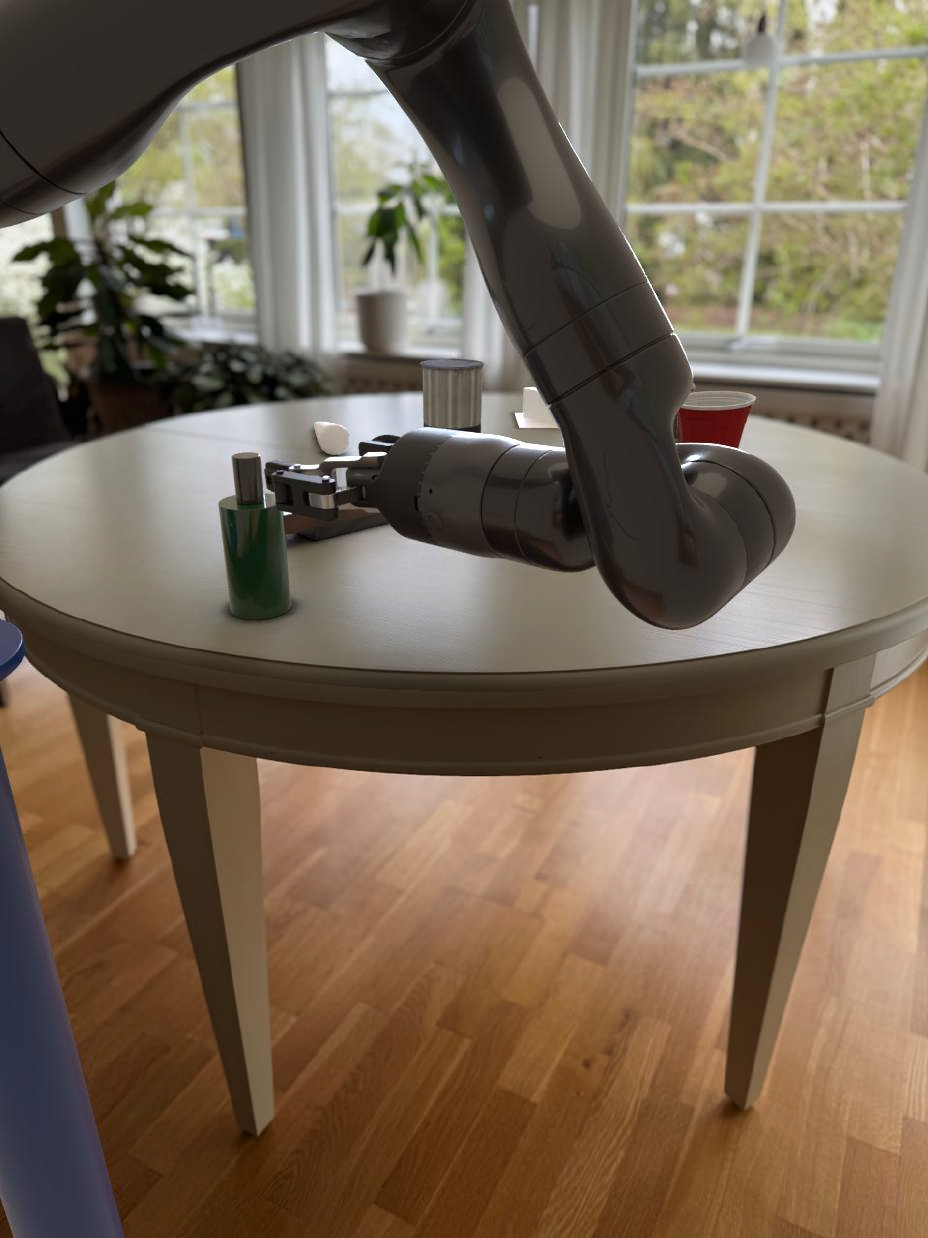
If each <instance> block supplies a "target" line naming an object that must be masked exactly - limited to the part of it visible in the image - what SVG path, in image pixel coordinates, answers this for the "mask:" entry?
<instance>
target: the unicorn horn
mask: <svg viewBox="0 0 928 1238" xmlns="http://www.w3.org/2000/svg"><path fill="white" fill-rule="evenodd" d="M313 427H314V432H315V435H316V439H317V442H318V445H319V447H320V449H321V450H322V451H323V452H324V453H326V454H327V455H331V456H340V455H342V454H345V453H346V451H347V450H348V449H349V446H350V443H351V437H350V433H349V430H348V429H347V428H346V427H344V425H341V424H337V423H333V422H328V421H315V422H314V423H313Z"/></svg>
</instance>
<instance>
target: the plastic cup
mask: <svg viewBox="0 0 928 1238" xmlns="http://www.w3.org/2000/svg"><path fill="white" fill-rule="evenodd" d="M756 399H757V396H755V395H753V394H752V393H747V392H742V391H732V390H706V391H694V393H690V395H689V396H688V398H687V400H686V401H685V402H684V404H683V405H682V407H681V408H680V409H679V411H678V412H677V416H678V421H679V432H680V444H684V443H706V444H716V445H723V446H728V447H733V448H736V449H740V448H739V447H740V444H741V440H742V437H743V433H744V430H745V427H746V424H747V421H748V418H749V416H750V413H751V409H752V407H753V405H754V404H755V403H756Z"/></svg>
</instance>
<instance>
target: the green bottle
mask: <svg viewBox="0 0 928 1238" xmlns="http://www.w3.org/2000/svg"><path fill="white" fill-rule="evenodd" d="M230 459H231V467H232V476H233V485H234V493H235V494H232V495H229V496H227V497H224V498H222V499H220V500H219V501H218V502H217V506H218V514H219V522H220V530H221V531H220V532H221V539H222V547H223V548H222V549H223V556H224V566H225V574H226V584H227V591H228V600H229V608H230V609H229V610H230V613H231V614H232V615H233V616H234V617H237V618H238V619H239V618H240V619H244V620H251V621H252V620H255V621H256V620H266V619H267V620H268V619H271V618H276V617H280V616H281V615H284V614H286V613H288V612H289V611H290V610H291V607H292V597H291V586H290V572H289V562H288V561H289V560H288V550H287V538H286V535H285V524H284V513H283V511H279V510H276V504H275V502H276V500H275V494H273V493H267V492H265V488H264V478H263V468H262V467H263V466H262V456H261V454H260V453H258V452H254V451H253V452H252V451H251V452H250V451H244V452H237V453H234V454H232V455H231V457H230Z"/></svg>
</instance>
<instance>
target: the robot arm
mask: <svg viewBox="0 0 928 1238" xmlns="http://www.w3.org/2000/svg"><path fill="white" fill-rule="evenodd" d="M317 33H324V34H326V35H327V36H328V37H329V38H330V39H332V40H333V41H334V42H335V43H337V45H339V46H341V47H342V48H343V49H344V50H347V51H348V52H349V53H351V54H353V55H355V56H356V57H357V58H361V59H362V60H363V61H364V63H365V64H367V66H368V67H369V68H370V70H371V71H372V72H373V73H374V74H375V76H376V77H377V78H378V79H379V81H380V82H381V83H382V85H383V86H384V87H385V88H386V90H387V91H388V92H389V94H390V95H391V97H392V98H393V100H394V101H395V102H396V103H397V104H398V106H399V107H400V108H401V110H402V112H404V114H405V115H406V117H407V118H408V120H409V121H410V122H411V123H412V125H413V127H414V128H415V129H416V131H417V132H418V134H419V135H420V137H421V138H422V140H423V142H424V143H425V145H426V146H427V149H428V150H429V151H430V152H429V153H431V156H432V158H433V159H434V161H435V163H436V164H437V166H438V168H439V170H440V173H441V174H442V176H443V178H444V180H445V182H446V184H447V186H448V188H449V190H450V192H451V194H452V197H453V199H454V201H455V204H456V207H457V209H458V211H459V214H460V216H461V219H462V221H463V224H464V226H465V229H466V232H467V235H468V237H469V238H468V239H469V241H470V243H471V246H472V249H473V252H474V255H475V258H476V262H477V264H478V267H479V271H480V273H481V275H482V278H483V279H482V280H483V281H484V284H485V286H486V289H487V291H488V294H489V297H490V299H491V302H492V304H493V306H494V309H495V311H496V314H497V316H498V317H499V319H500V322H501V324H502V327H503V329H504V330H505V332H506V334H507V336H508V339H509V341H510V342H511V345H512V346H513V348H514V350H515V352H516V354H517V356H518V358H519V359H520V361H521V363H522V365H523V367H524V369H525V370H526V372H527V374H528V376H529V378H530V380H531V381H532V384H533V385H534V387H536V389H537V391H538V393H539V394H540V396H541V398H542V400H543V402H544V404H545V405H546V406H550V407H549V408H548V411H549V412H550V414H551V416H552V418H553V420H554V421H555V423H556V425H557V426H558V428H557V429H558V432H559V433H560V436H561V439H562V440H561V441H562V443H563V447H559V446H552V445H544V444H536V443H527V442H523V441H520V440H517V439H514V438H512V437H507V436H502V435H499V434H488V433H482V432H481V433H473V432H465V431H457V430H448V429H440V428H431V427H424V426H422V427H418V428H414V429H412V430H410V431H408V432H406V433H404V434H403V435H402V436H399V437H400V438H399V439H398V440H397V441H396V442H395V443H394V444H389V443H382V442H375V441H371V440H363V441H360V442H358V447H357V448H358V456H329V457H327V458H326V459H324V460H323V461H321V462H320V464H300V463H292V462H288V461H283V460H282V461H281V460H276V459H275V460H270V461H266V462H265V465H264V468H263V474H264V480H265V481H264V482H265V488H266V489H267V491H270V492H271V493H274V495H275V500H276V502H275V504H276V510H279V511H284V512H288V513H293V514H297V515H302V516H307V517H311V518H316V519H320V520H327V521H333V520H335V519H338V518H339V510H359V509H362V510H365V511H366V512H368V513H381V514H382V515H383V516H384V517H385V519H386V520H387V521H388V523H387V524H389V525H390V527H391V528H392V529H393V530H394V531H395V532H396V533H397V534H398V535H400V536H402V537H404V538H406V539H408V540H412V541H417V542H419V543H423V544H428V545H432V546H436V547H440V548H443V549H447V550H451V551H455V552H459V553H463V554H466V555H471V556H475V557H480V558H487V559H501V560H506V561H510V562H515V563H519V564H523V565H527V566H531V567H535V568H539V569H543V570H548V571H551V572H557V573H565V574H573V573H582V572H587V571H588V570H591V569H594V568H596V569H597V572H598V574H599V576H600V578H601V579H602V581H603V583H604V585H605V586H606V587H607V589H608V590H609V592H610V593H611V595H613V597H614V598H615V599H616V600H617V602H619V603H620V605H621V606H622V607H623V608H624V609H626V610H627V611H628V612H629V613H630V614H631V615H633V616H635V617H636V619H639V620H640V621H642V622H644V623H646V624H648V625H650V626H652V627H656V628H659V629H663V630H666V631H667V630H668V631H683V630H687V629H688V630H689V629H691V628H695V627H698V626H700V625H701V624H703V623H705V622H707V621H708V620H709V619H711V618H713V617H714V616H715V615H716V614H718V612H720V611H721V610H722V609H723V608H724V607H726V606H727V605H728V604H729V603H730V602H731V601H732V600H733V599H735V597H736V596H737V595H738V594H740V593H741V592H742V591H743V590H744V589H745V588H746V587H747V586H749V585H750V584H751V583H752V582H753V581H754V580H755V579H756V578H757V577H758V576H760V575H761V574H762V573H763V572H764V571H765V570H767V569H768V568H769V567H770V566H771V565H772V564H773V563H774V562H775V561H776V560H777V559H778V558H779V557H780V555H781V554H782V553H783V552H784V550H785V549H786V547H787V546H788V544H789V543H790V541H791V538H792V536H793V535H794V531H795V526H796V521H797V510H796V502H795V498H794V495H793V492H792V490H791V489H790V487H789V485H788V483H787V482H786V480H785V479H784V478H783V476H782V475H781V473H780V472H779V471H777V470H776V469H775V468H774V467H773V466H772V465H771V464H769V463H768V462H766V461H765V460H763V459H762V458H759V457H758V456H756V455H754V454H752V453H749V452H748V451H744V450H742V449H740V448H738V449H736V448H733V447H728V446H723V445H716V444H706V443H684V444H676V443H675V439H674V434H673V421H674V418H675V416H676V414H677V412H678V411H679V409H680V408H681V407H682V405H683V404H684V402H685V401H686V400H687V398H688V396H689V395H690V393H691V390H692V387H693V383H694V382H693V380H694V373H693V370H692V367H691V364H690V361H689V359H688V356H687V354H686V351H685V349H684V347H683V345H682V343H681V341H680V339H679V337H678V335H677V334H676V333H674V332H675V329H674V328H673V325H672V324H671V321H670V320H669V318H668V315H667V313H666V312H665V310H664V307H663V306H662V304H661V302H660V300H659V298H658V296H657V294H656V292H655V290H654V288H653V287H652V284H651V283H650V280H649V279H648V276H647V275H646V273H645V271H644V268H643V267H642V265H641V263H640V261H639V260H638V258H637V256H636V254H635V252H634V251H633V249H632V247H631V245H630V243H629V242H628V240H627V238H626V236H625V234H624V233H623V231H622V229H621V227H620V226H619V223H618V222H617V221H616V219H615V217H614V215H613V214H612V212H611V210H610V209H609V207H608V205H607V204H606V202H605V200H604V199H603V197H602V195H601V193H600V192H599V190H598V188H597V187H596V185H595V183H594V182H593V180H592V178H591V177H590V175H589V173H588V171H587V170H586V168H585V167H584V164H583V163H582V161H581V160H580V157H579V156H578V154H577V152H576V150H575V149H574V147H573V145H572V143H571V141H570V140H569V138H568V137H567V134H566V132H565V131H564V129H563V127H562V125H561V124H560V121H559V119H558V117H557V115H556V113H555V111H554V109H553V107H552V105H551V102H550V100H549V99H548V97H547V94H546V92H545V90H544V87H543V84H542V82H541V80H540V78H539V76H538V73H537V71H536V69H535V66H534V63H533V62H532V58H531V57H530V54H529V51H528V49H527V46H526V44H525V42H524V39H523V36H522V33H521V30H520V26H519V24H518V21H517V18H516V15H515V12H514V9H513V5H512V3H511V0H0V230H2V229H5V228H9V227H13V226H16V225H20V224H23V223H26V222H29V221H31V220H34V219H37V218H40V217H42V216H45V215H47V214H49V213H51V212H53V211H55V210H58V209H59V208H61V207H63V206H66V205H68V204H70V203H73V202H74V201H76V200H79V199H81V198H83V197H86V196H87V195H90V194H91V193H93V192H96V191H98V190H100V189H102V188H104V187H105V186H107V185H108V184H110V183H112V182H113V181H116V180H117V179H118V178H120V177H121V176H122V175H123V174H124V173H126V172H127V171H128V170H129V169H130V168H131V167H132V166H133V165H134V164H135V163H136V162H137V161H138V160H139V159H140V158H141V157H142V156H143V154H144V153H145V152H146V151H147V149H149V146H150V145H151V144H152V142H153V141H154V140H155V138H156V136H157V135H158V133H159V132H160V130H161V129H162V127H163V125H164V124H165V123H166V121H167V120H168V118H169V117H170V115H171V113H172V112H173V111H174V110H175V108H176V107H177V106H178V104H179V103H180V101H181V100H182V99H184V97H186V96H187V95H188V94H189V93H190V92H191V91H192V90H193V89H194V88H196V87H197V86H198V85H199V84H202V82H204V81H205V80H207V79H208V78H210V77H212V76H213V75H215V74H218V73H219V72H221V71H222V70H224V69H226V68H229V67H231V66H233V65H235V64H238V63H239V62H242V61H244V60H246V59H249V58H251V57H253V56H256V55H258V54H260V53H262V52H264V51H266V50H268V49H272V48H273V47H277V46H279V45H282V44H284V43H285V44H286V43H288V42H290V41H293V40H296V39H299V38H303V37H306V36H309V35H312V34H317ZM337 469H346V470H345V475H344V476H345V482H346V483H345V484H346V485H341V486H338V478H337Z"/></svg>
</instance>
